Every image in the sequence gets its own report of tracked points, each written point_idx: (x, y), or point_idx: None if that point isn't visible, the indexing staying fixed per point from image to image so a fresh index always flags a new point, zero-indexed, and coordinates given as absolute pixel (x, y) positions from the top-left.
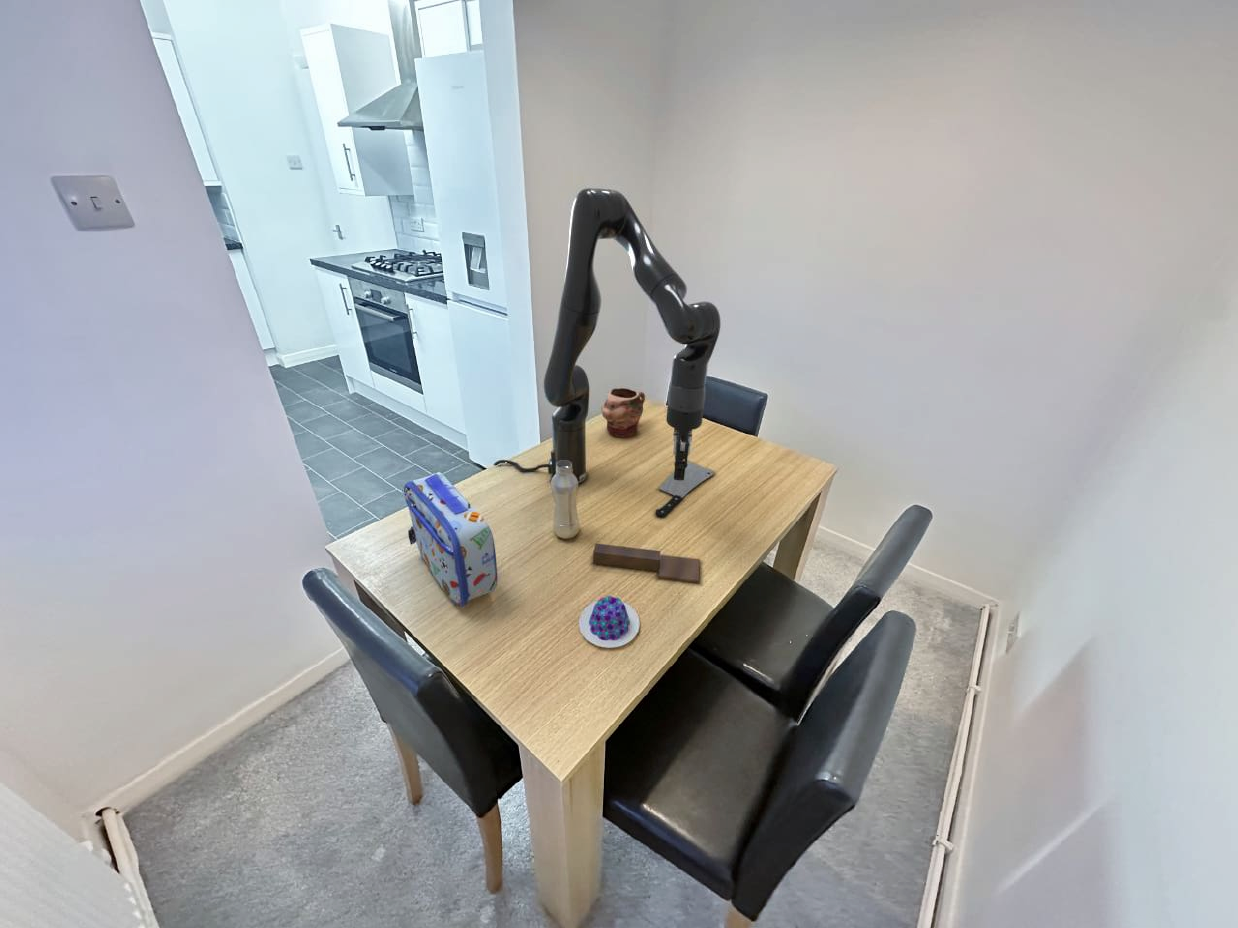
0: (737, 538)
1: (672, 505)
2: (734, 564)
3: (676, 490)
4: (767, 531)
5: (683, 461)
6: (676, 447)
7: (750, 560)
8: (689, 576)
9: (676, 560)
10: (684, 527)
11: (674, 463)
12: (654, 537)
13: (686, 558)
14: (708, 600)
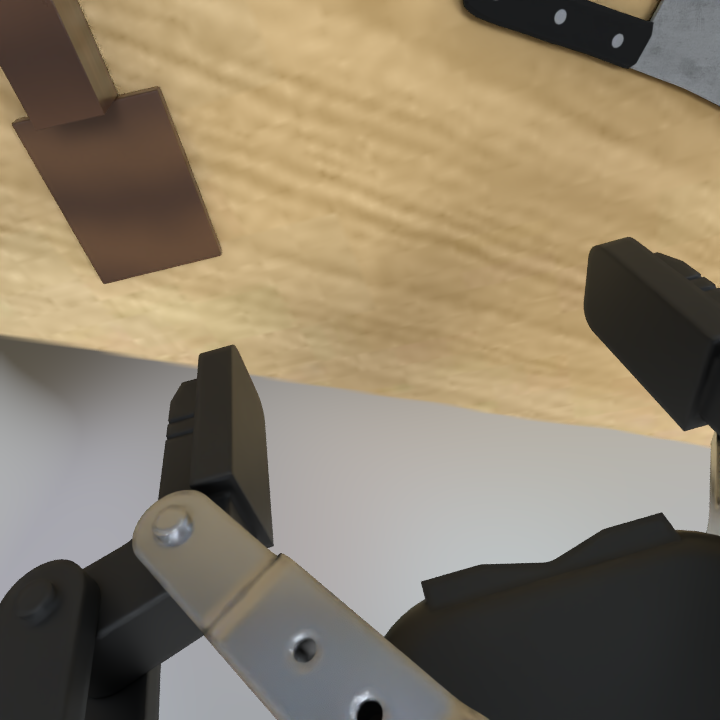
0: (405, 330)
1: (560, 35)
2: (269, 350)
3: (695, 18)
4: (465, 391)
5: (171, 649)
6: (692, 333)
7: (310, 382)
8: (102, 248)
9: (162, 174)
10: (413, 137)
11: (24, 619)
12: (287, 7)
13: (198, 210)
14: (48, 325)
